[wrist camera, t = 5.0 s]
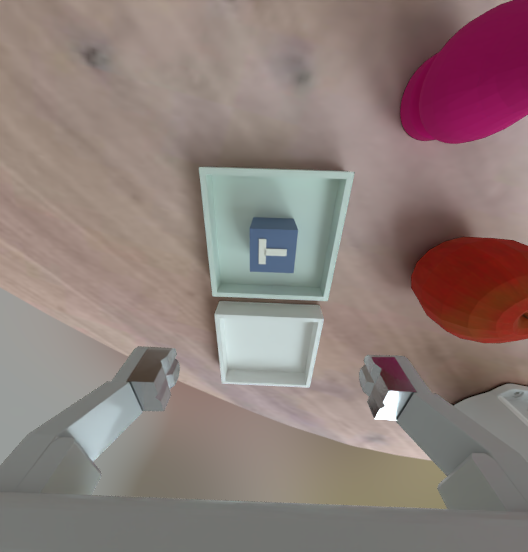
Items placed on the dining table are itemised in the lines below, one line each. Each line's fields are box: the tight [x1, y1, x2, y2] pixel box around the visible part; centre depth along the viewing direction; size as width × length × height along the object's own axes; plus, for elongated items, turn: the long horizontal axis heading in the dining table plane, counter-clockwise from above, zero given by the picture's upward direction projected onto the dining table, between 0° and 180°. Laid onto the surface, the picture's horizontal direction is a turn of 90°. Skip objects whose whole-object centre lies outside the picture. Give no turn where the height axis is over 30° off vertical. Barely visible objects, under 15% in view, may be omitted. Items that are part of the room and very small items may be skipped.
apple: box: [411, 237, 528, 343], centre depth 21 cm, size 10×10×12 cm
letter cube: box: [250, 217, 298, 273], centre depth 22 cm, size 4×4×5 cm
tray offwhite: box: [214, 301, 324, 388], centre depth 32 cm, size 14×14×3 cm
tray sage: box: [199, 167, 355, 301], centre depth 24 cm, size 14×14×3 cm
